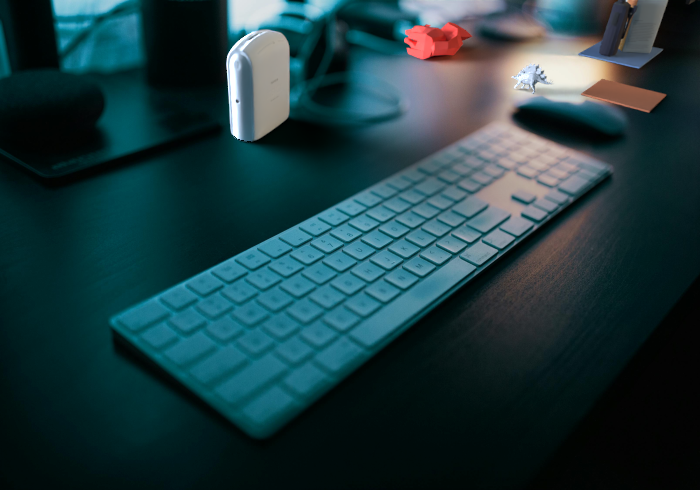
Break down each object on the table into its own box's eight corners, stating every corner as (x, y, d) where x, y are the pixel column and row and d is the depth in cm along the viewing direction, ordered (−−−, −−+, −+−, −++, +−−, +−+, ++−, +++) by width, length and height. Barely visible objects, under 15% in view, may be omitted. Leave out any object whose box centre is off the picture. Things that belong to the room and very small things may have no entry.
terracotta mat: (665, 96, 100) (666, 94, 99) (649, 112, 92) (649, 110, 92) (601, 80, 105) (602, 78, 105) (581, 94, 97) (581, 93, 97)
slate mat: (662, 50, 126) (663, 49, 125) (638, 68, 113) (639, 67, 112) (606, 38, 131) (607, 37, 131) (578, 54, 118) (578, 53, 118)
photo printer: (255, 145, 73) (252, 45, 66) (226, 138, 74) (220, 38, 67) (293, 118, 81) (294, 26, 74) (266, 112, 82) (265, 21, 75)
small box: (605, 41, 128) (625, -23, 120) (633, 43, 128) (654, -21, 121) (621, 52, 121) (642, -16, 114) (650, 53, 121) (674, -14, 114)
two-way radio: (601, 49, 122) (624, -29, 113) (623, 53, 120) (649, -26, 112) (596, 55, 118) (620, -26, 109) (619, 59, 116) (645, -22, 108)
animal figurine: (478, 49, 117) (482, 23, 114) (445, 66, 106) (450, 37, 103) (426, 38, 122) (430, 12, 119) (390, 53, 111) (393, 25, 108)
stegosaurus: (548, 97, 95) (556, 69, 92) (507, 88, 98) (513, 60, 95) (552, 93, 97) (560, 65, 94) (511, 84, 100) (517, 57, 97)
